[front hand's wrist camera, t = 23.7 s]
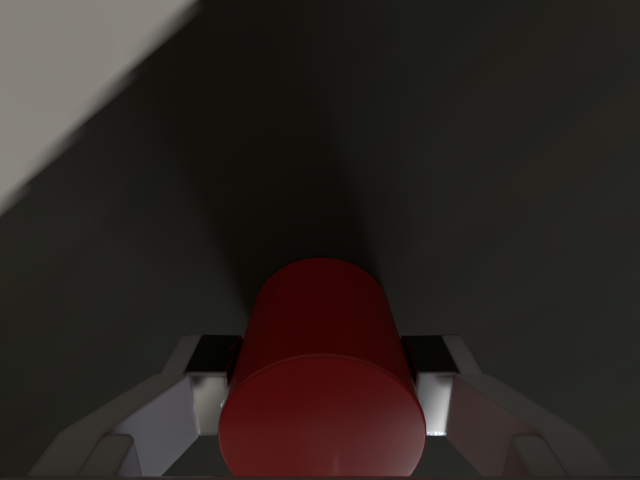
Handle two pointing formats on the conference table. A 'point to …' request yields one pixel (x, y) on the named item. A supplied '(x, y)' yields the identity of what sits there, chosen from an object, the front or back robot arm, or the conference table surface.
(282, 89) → the conference table surface
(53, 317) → the conference table surface
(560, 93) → the conference table surface
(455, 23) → the conference table surface
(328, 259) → the tin
